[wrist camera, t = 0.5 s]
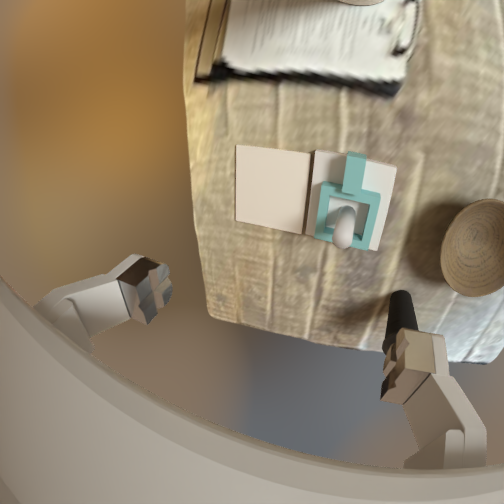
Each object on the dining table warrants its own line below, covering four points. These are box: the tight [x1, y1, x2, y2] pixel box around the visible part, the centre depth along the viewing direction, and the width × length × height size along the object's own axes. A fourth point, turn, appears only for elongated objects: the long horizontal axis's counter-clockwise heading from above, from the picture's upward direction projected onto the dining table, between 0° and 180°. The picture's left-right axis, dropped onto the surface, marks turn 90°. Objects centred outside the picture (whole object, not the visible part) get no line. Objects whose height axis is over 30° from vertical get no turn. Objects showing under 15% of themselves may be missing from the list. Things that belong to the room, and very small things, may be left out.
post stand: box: [305, 149, 397, 251], centre depth 42 cm, size 16×14×12 cm
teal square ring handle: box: [314, 151, 381, 251], centre depth 43 cm, size 16×10×4 cm, turn 178°
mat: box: [236, 145, 311, 234], centre depth 52 cm, size 16×14×1 cm
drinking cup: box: [382, 290, 419, 355], centre depth 45 cm, size 8×8×20 cm
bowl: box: [440, 199, 504, 297], centre depth 36 cm, size 18×18×8 cm
